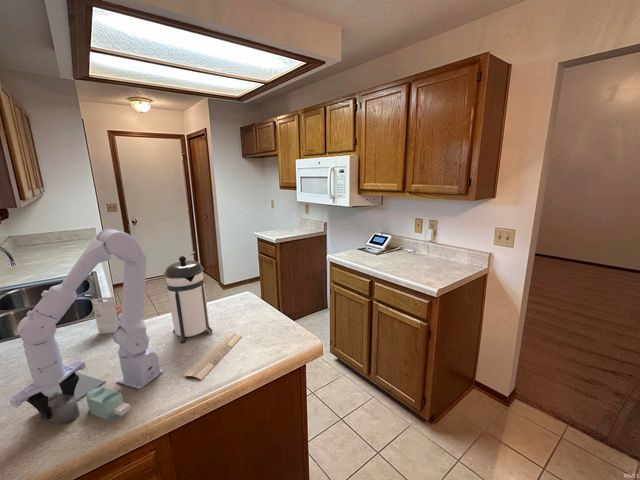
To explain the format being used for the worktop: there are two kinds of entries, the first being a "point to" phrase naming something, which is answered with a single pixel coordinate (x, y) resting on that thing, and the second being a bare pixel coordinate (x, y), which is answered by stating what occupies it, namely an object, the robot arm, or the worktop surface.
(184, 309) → the coffee press
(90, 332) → the worktop surface
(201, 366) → the wooden plank
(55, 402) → the plug
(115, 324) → the ink box
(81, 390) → the mat
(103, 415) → the teal plug
